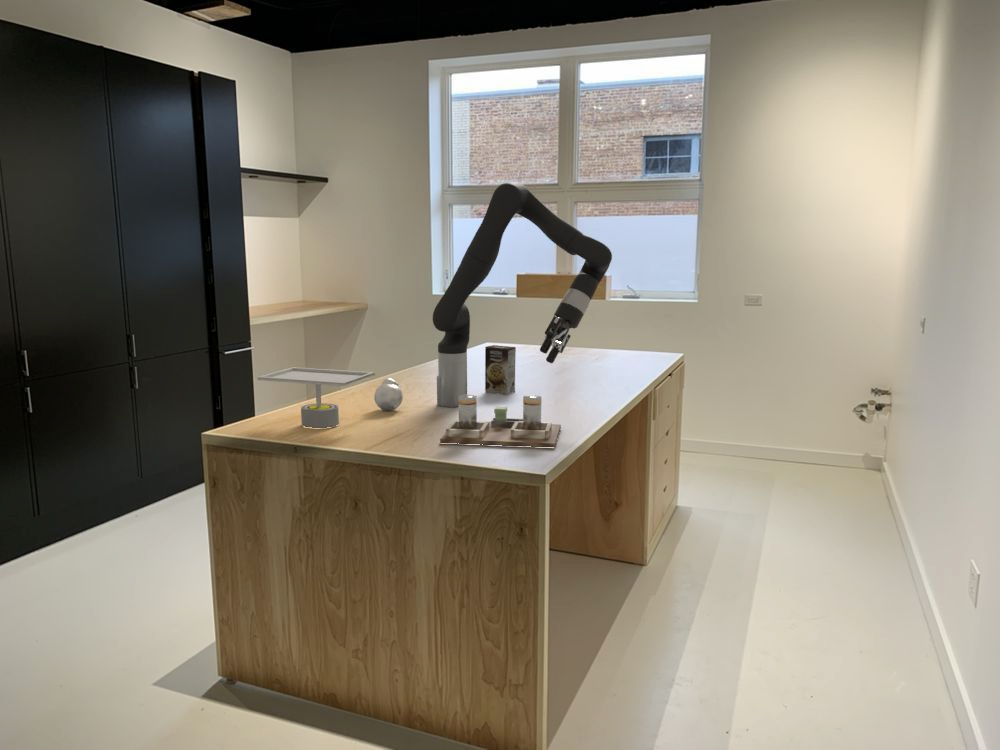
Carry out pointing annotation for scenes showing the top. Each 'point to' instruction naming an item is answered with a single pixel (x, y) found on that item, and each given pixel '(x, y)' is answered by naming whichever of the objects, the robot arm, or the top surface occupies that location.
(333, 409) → the solar panel model
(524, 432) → the pallet
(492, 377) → the coffee box
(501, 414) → the green notched block
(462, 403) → the seated billet
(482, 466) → the top surface
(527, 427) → the cylinder
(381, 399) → the grey rounded lump
